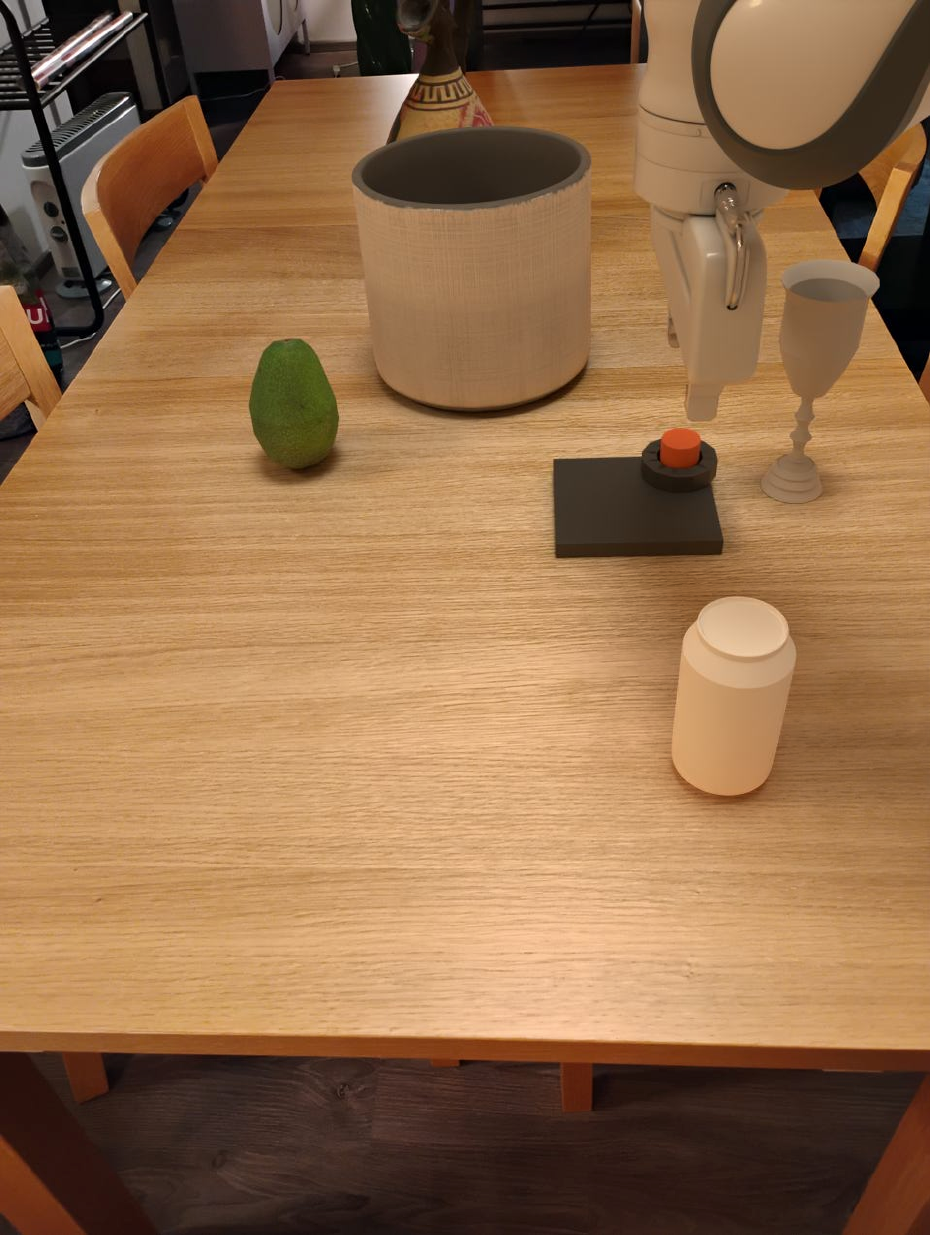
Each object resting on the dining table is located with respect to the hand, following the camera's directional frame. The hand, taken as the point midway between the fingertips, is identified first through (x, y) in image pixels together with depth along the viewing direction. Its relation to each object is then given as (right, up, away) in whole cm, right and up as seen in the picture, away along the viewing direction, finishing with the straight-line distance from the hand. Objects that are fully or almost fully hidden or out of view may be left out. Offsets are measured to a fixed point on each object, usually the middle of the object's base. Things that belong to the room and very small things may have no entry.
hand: (689, 377), depth 65 cm
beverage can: (+1, -25, -2) cm, 25 cm away
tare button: (+3, -2, +18) cm, 19 cm away
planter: (-13, +10, +38) cm, 42 cm away
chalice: (+13, -5, +19) cm, 23 cm away
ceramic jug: (-16, +32, +62) cm, 72 cm away
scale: (-1, -7, +18) cm, 19 cm away
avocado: (-30, -1, +27) cm, 40 cm away
